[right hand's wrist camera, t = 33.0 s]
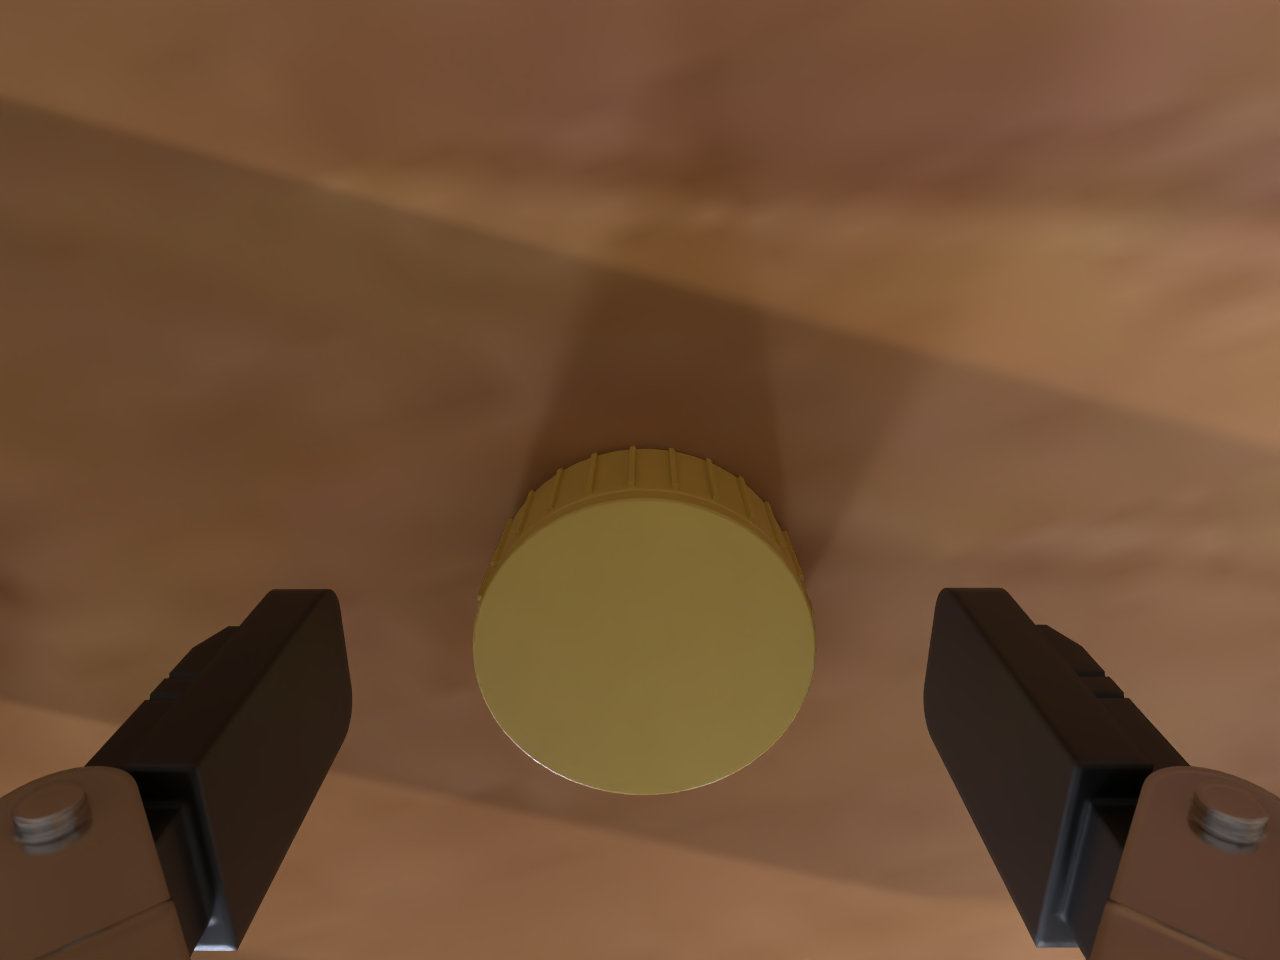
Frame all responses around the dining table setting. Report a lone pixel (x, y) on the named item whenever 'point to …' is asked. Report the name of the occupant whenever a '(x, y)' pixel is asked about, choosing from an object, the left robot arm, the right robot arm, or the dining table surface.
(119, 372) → the dining table surface
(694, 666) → the cap
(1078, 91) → the dining table surface
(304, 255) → the dining table surface
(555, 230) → the dining table surface
